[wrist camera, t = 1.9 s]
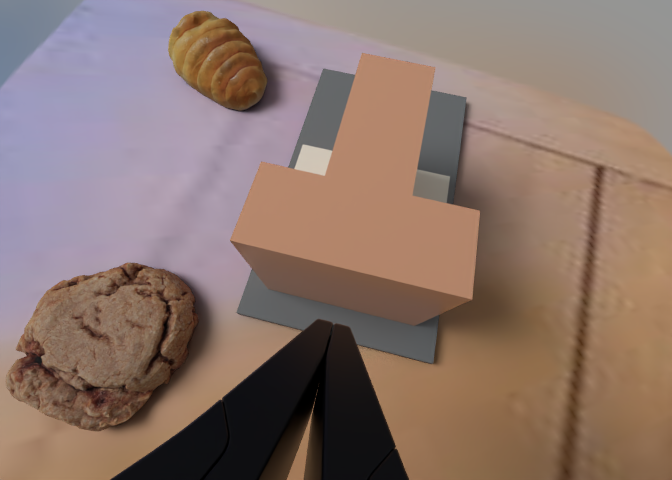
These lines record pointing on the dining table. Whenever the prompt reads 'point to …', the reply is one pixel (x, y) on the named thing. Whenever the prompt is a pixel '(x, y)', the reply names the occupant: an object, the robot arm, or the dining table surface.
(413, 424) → the dining table surface
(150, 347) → the cookie
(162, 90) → the dining table surface
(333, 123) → the board
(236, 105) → the pastry
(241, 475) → the robot arm
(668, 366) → the dining table surface
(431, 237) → the tee
